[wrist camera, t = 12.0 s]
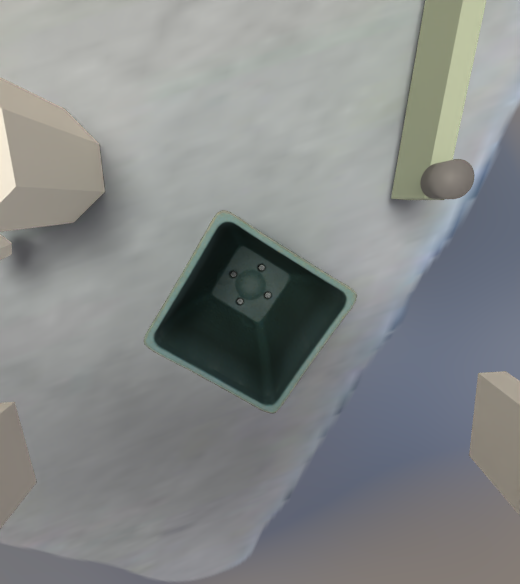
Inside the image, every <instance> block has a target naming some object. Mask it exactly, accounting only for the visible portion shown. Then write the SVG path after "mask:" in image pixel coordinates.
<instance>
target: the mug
mask: <svg viewBox="0 0 520 584" xmlns="http://www.w3.org/2000/svg"><path fill="white" fill-rule="evenodd" d="M104 192H105V187H104V179H103V170H102V162H101V154H100V145H99V143H98V142H97V141H96V140H95V139H94V138H93V137H92V136H91V135H90V134H89V133H88V132H87V131H86V130H85V129H84V128H83V127H82V126H81V125H80V124H79V123H78V122H77V121H76V120H75V119H74V118H73V117H72V116H71V115H70V114H69V113H68V112H67V111H66V110H65V109H64V108H62V107H60V106H58V105H56V104H54V103H52V102H50V101H48V100H46V99H44V98H42V97H39V96H37V95H35V94H33V93H31V92H29V91H27V90H25V89H23V88H21V87H19V86H17V85H15V84H13V83H11V82H9V81H7V80H5V79H2V78H0V232H3V231H11V230H19V229H27V228H36V227H44V226H52V225H60V224H68V223H74V222H75V221H76V220H77V219H78V218H79V217H80V216H81V215H82V214H83V213H84V212H85V211H86V210H87V209H88V208H89V207H90V206H91V205H92V204H93V203H94V202H95V201H96V200H97V199H98V198H99V197H100V196H101V195H102V194H103V193H104ZM10 255H12V243H11V242H10V241H9V240H7V239H6V238H5V237H3V236H2V235H1V234H0V260H2V259H4V258H6V257H8V256H10Z"/></svg>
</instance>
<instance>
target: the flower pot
mask: <svg viewBox="0 0 520 584" xmlns="http://www.w3.org/2000/svg"><path fill="white" fill-rule="evenodd" d="M261 264H262V265H264V266H265V269H264V270H263V271H261V270H259V268H258V267H259V265H261ZM232 271H235V272H236V273H237V275H236V277H231V276H230V273H231V272H232ZM266 292H270V293H271V297H270V298H266V297H265V293H266ZM239 298H242V299H243V303H242V304H238V303H237V299H239ZM356 298H357V294H356V292H355V291H354V290H353V289H351V288H350V287H349V286H347V285H345V284H344V283H342V282H340V281H338V280H337V279H335V278H333V277H332V276H330V275H329V274H327V273H325V272H324V271H322V270H320V269H319V268H317V267H316V266H314V265H312V264H311V263H309V262H308V261H306V260H304V259H303V258H301V257H300V256H298V255H297V254H295V253H293V252H292V251H290V250H289V249H287V248H285V247H284V246H282V245H281V244H279V243H277V242H276V241H274V240H273V239H271V238H269V237H268V236H266V235H265V234H263V233H262V232H260V231H259V230H257V229H255V228H254V227H252V226H251V225H249V224H248V223H246V222H245V221H243V220H242V219H241V218H239V217H237V216H236V215H234V214H232V213H231V212H228V211H225V210H223V211H220V212H218V213H217V214H216V215H215V217H214V218H213V219H212V221H211V223H210V225H209V227H208V229H207V230H206V232H205V234H204V236H203V237H202V239H201V241H200V242H199V244H198V246H197V248H196V250H195V251H194V253H193V255H192V257H191V258H190V260H189V262H188V264H187V265H186V267H185V269H184V271H183V273H182V274H181V276H180V277H179V279H178V281H177V283H176V284H175V286H174V288H173V289H172V291H171V293H170V295H169V296H168V298H167V300H166V301H165V303H164V305H163V306H162V308H161V310H160V311H159V313H158V315H157V316H156V318H155V320H154V321H153V323H152V325H151V326H150V328H149V329H148V331H147V333H146V335H145V337H144V344H145V345H146V346H147V347H148V348H149V349H151V350H152V351H153V352H156V353H157V354H159V355H161V356H163V357H165V358H167V359H169V360H170V361H172V362H174V363H176V364H178V365H180V366H182V367H184V368H186V369H188V370H189V371H192V372H193V373H196V374H197V375H199V376H201V377H203V378H205V379H206V380H208V381H210V382H212V383H214V384H216V385H218V386H219V387H221V388H223V389H225V390H227V391H228V392H230V393H232V394H233V395H235V396H237V397H239V398H241V399H242V400H244V401H246V402H248V403H250V404H251V405H253V406H255V407H257V408H259V409H260V410H262V411H265V412H268V413H276V412H277V411H278V410H279V409H280V407H281V406H282V405H283V403H284V402H285V400H286V399H287V397H288V396H289V395H290V393H291V392H292V390H293V389H294V387H295V386H296V385H297V383H298V381H299V380H300V378H301V377H302V375H303V374H304V373H305V371H306V370H307V368H308V367H309V365H310V364H311V363H312V361H313V360H314V359H315V357H316V356H317V355H318V353H319V352H320V350H321V349H322V347H323V346H324V345H325V343H326V342H327V340H328V339H329V338H330V336H331V335H332V334H333V332H334V331H335V329H336V328H337V327H338V326H339V324H340V323H341V321H342V320H343V319H344V317H345V316H346V315H347V313H348V312H349V311H350V310H351V309H352V307H353V305H354V303H355V301H356Z"/></svg>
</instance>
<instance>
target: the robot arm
mask: <svg viewBox="0 0 520 584" xmlns="http://www.w3.org/2000/svg"><path fill="white" fill-rule="evenodd" d="M469 456H470V457H471V458H472V460H473V461H474V462H475V463H476V464H477V466H478V467H479V468H480V469H481V470H482V471H483V473H484V474H485V475H486V476H487V477H488V479H489V480H490V481H491V482H492V483H493V484H494V486H495V487H496V488H497V489H498V490H499V492H500V493H501V494H502V495H503V496H504V498H505V499H506V500H507V501H508V502H509V504H510V505H511V506H512V507H513V508H514V510H515V511H516V512H517V513H518V514H519V515H520V381H519V380H517V379H516V378H514V377H513V376H511V375H510V374H508V373H507V372H506V371H504V372H488V373H478V381H477V389H476V398H475V408H474V416H473V425H472V434H471V443H470V453H469ZM36 483H37V481H36V478H35V474H34V471H33V467H32V463H31V460H30V456H29V452H28V449H27V445H26V442H25V438H24V434H23V431H22V427H21V423H20V420H19V416H18V413H17V409H16V405H15V402H6V403H0V529H1V527H2V526H3V525H4V524H5V522H6V521H7V520H8V518H9V517H10V516H11V515H12V513H13V512H14V511H15V509H16V508H17V507H18V506H19V504H20V503H21V502H22V500H23V499H24V498H25V497H26V495H27V494H28V493H29V492H30V490H31V489H32V488H33V486H34V485H35V484H36Z"/></svg>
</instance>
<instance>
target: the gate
mask: <svg viewBox="0 0 520 584" xmlns="http://www.w3.org/2000/svg"><path fill="white" fill-rule="evenodd" d="M485 4H486V0H425V6H424V11H423V17H422V23H421V29H420V34H419V40H418V46H417V52H416V57H415V63H414V69H413V75H412V80H411V86H410V92H409V98H408V104H407V109H406V115H405V121H404V127H403V132H402V138H401V144H400V150H399V155H398V161H397V167H396V173H395V178H394V184H393V190H392V196H391V199H401V200H444V199H456V198H460V197H462V196H464V195H465V194H466V193H467V192H468V191H469V190H470V189H471V187H472V185H473V182H474V171H473V168H472V166H471V165H470V164H469V163H468V162H467V161H465V160H462V159H454V160H453V155H454V150H455V146H456V141H457V136H458V132H459V127H460V122H461V117H462V113H463V108H464V103H465V99H466V94H467V89H468V84H469V80H470V75H471V70H472V65H473V61H474V56H475V51H476V47H477V42H478V37H479V32H480V28H481V23H482V18H483V14H484V9H485Z"/></svg>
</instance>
